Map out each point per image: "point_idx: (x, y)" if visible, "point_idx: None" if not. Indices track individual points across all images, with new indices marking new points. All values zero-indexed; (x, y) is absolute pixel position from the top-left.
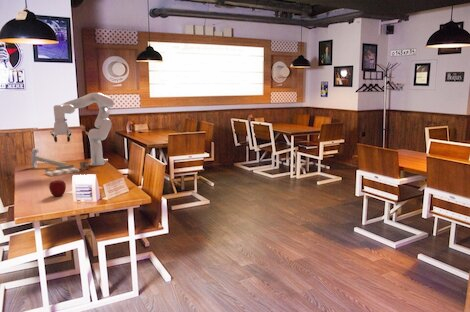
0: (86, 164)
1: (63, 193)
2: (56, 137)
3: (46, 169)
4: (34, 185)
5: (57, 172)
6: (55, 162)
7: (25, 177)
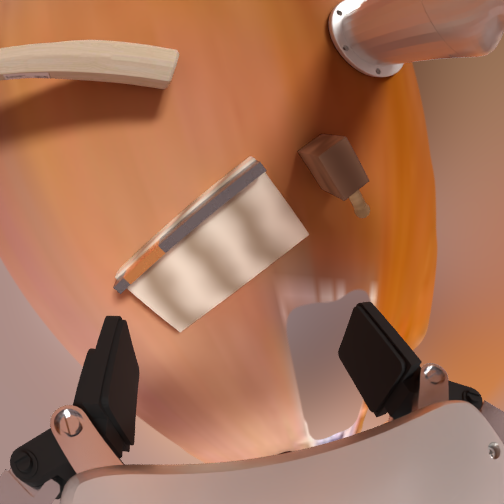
0: (358, 214)
1: None
2: (117, 412)
3: (123, 290)
4: (189, 421)
5: (203, 311)
6: (96, 76)
7: (70, 330)
